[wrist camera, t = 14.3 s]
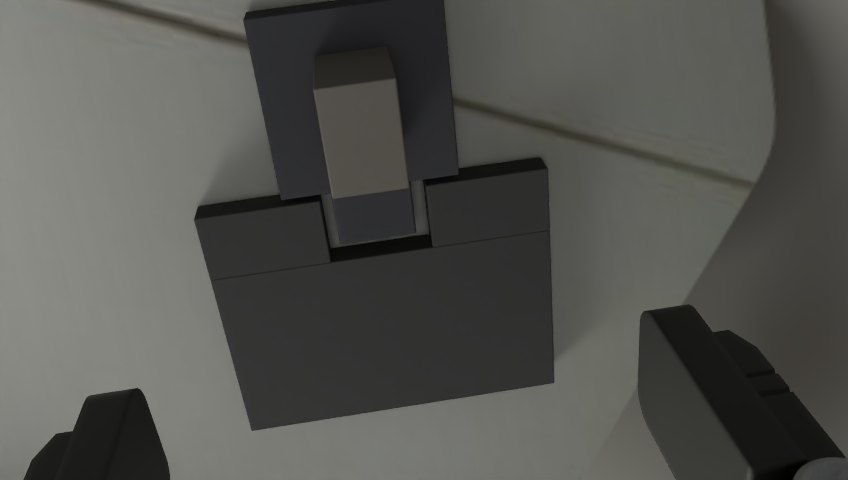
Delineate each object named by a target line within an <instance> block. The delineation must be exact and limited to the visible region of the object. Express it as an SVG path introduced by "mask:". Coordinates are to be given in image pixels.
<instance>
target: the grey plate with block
mask: <svg viewBox="0 0 848 480" xmlns="http://www.w3.org/2000/svg"><path fill="white" fill-rule="evenodd" d="M244 26H245V30H246V35H247V40H248V45H249V49H250V54H251V59H252V63H253V68H254V73H255V78H256V82H257V87H258V92H259V97H260V101H261V106H262V111H263V116H264V120H265V125H266V130H267V134H268V139H269V144H270V149H271V153H272V158H273V163H274V168H275V172H276V177H277V182H278V187H279V191H280V196H281V200H285V199H292V198H299V197H306V196H313V195H320V194H327V193H331V195H332V200H333V206H334V212H335V217H336V223H337V229H338V234H339V240H340V243H341V244H347V243H354V242H361V241H367V240H374V239H381V238H388V237H394V236H401V235H408V234H415V233H416V226H415V218H414V209H413V201H412V193H411V185H410V181H417V180H424V179H431V178H438V177H445V176H452V175H458V174H459V168H458V157H457V146H456V135H455V124H454V113H453V102H452V90H451V79H450V68H449V57H448V46H447V35H446V24H445V12H444V1H443V0H336V1H328V2H321V3H313V4H306V5H298V6H290V7H283V8H275V9H267V10H260V11H252V12H246V14H245V17H244Z"/></svg>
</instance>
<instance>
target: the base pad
mask: <svg viewBox="0 0 848 480" xmlns="http://www.w3.org/2000/svg"><path fill="white" fill-rule="evenodd" d="M423 182H424V191H425V200H426V208H427V217H428V226H429V234H430V235H424V236H417V237H410V238H404V239H397V240H390V241H383V242H376V243H370V244H363V245H356V246H349V247H342V248H336V249H330V243H329V238H328V233H327V227H326V222H325V216H324V211H323V205H322V200H321V194H320V195H313V196H306V197H299V198H292V199H285V200H281V196H280V195H276V196H269V197H262V198H255V199H248V200H241V201H234V202H227V203H220V204H213V205H206V206H199V207H198V208H197V212H196V215H195V219H194V221H195V225H196V228H197V232H198V236H199V239H200V243H201V247H202V250H203V254H204V258H205V261H206V265H207V269H208V272H209V276H210V279H211V283H212V287H213V291H214V294H215V298H216V302H217V305H218V309H219V312H220V316H221V320H222V323H223V327H224V331H225V334H226V338H227V342H228V345H229V349H230V353H231V356H232V360H233V364H234V367H235V371H236V375H237V378H238V382H239V386H240V389H241V393H242V397H243V400H244V404H245V408H246V411H247V415H248V419H249V422H250V426H251V430H252V431H254V430H260V429H267V428H273V427H279V426H286V425H292V424H298V423H304V422H311V421H317V420H323V419H330V418H336V417H342V416H349V415H355V414H361V413H368V412H374V411H380V410H387V409H393V408H399V407H405V406H412V405H418V404H424V403H431V402H437V401H443V400H450V399H456V398H462V397H469V396H475V395H481V394H488V393H494V392H500V391H506V390H513V389H519V388H525V387H532V386H538V385H544V384H551V383H554V356H553V323H552V290H551V258H550V230H549V229H550V224H549V191H548V168H547V167H546V165H545V164H544V162H543V160H542V159H541V158H534V159H527V160H520V161H513V162H506V163H499V164H492V165H485V166H478V167H471V168H464V169H459V174H458V175H452V176H445V177H438V178H431V179H424V180H423Z"/></svg>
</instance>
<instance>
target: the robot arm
mask: <svg viewBox="0 0 848 480" xmlns="http://www.w3.org/2000/svg"><path fill="white" fill-rule="evenodd" d="M638 395H639V401H640V405H641V410H642V414H643V417H644V419H645V422H646V424H647V426H648V428H649V430H650V432H651V434H652V436H653V437H654V439H655V441H656V443H657V445H658V447H659V449H660V451H661V452H662V454H663V456H664V458H665V460H666V462H667V464H668V466H669V468H670V469H671V471H672V473H673V475H674V477H675V479H676V480H848V458H846V457H845V456H844V455H843V453H842V452H841V451H840V450H839V448H838V447H837V446H836V445H835V443H834V442H833V441H832V440H831V438H830V437H829V436H828V435H827V433H826V432H825V431H824V430H823V428H822V427H820V425H819V424H818V422H817V421H816V420H815V419H814V417H813V416H812V415H811V414H810V412H809V411H808V410H807V409H806V407H805V406H804V405H803V404H802V403H801V402H800V400H799V399H798V398H797V396H796V395H795V394H794V393H793V392H790V390H789V386H788V385H787V384H786V383H785V382H784V380H783V379H782V378H781V377H780V375H779V374H775V371H774V368H773V367H772V365H771V364H770V363H769V362H768V361H767V359H766V358H765V357H764V356H763V354H762V353H761V352H760V351H759V349H758V348H757V347H756V346H754V345H752V344H751V343H749V342H747V341H746V340H744V339H743V338H741V337H739V336H738V335H736V334H734V333H733V332H731V331H729V330H725V331H719V332H712V331H711V329H710V328H709V327H708V325H707V324H706V323H705V321H704V320H703V319H702V317H701V316H700V315H699V313H698V312H697V311H696V309H695V308H694V307H693V306H691V305H689V304H688V305H681V306H675V307H668V308H662V309H655V310H649V311H644V312H643V313H642V315H641V319H640V335H639V364H638ZM23 480H170V473H169V466H168V462H167V459H166V456H165V453H164V450H163V447H162V444H161V441H160V438H159V436H158V433H157V430H156V427H155V424H154V421H153V418H152V415H151V413H150V410H149V407H148V404H147V401H146V399H145V396H144V394H143V392H142V391H141V390H140V389H138V388H135V389H129V390H122V391H116V392H109V393H103V394H96V395H90V396H88V397H87V398H86V400H85V402H84V404H83V406H82V409H81V412H80V414H79V417H78V419H77V422H76V425H75V427H74V430H73V431H71V432H64V433H58V434H55V436H54V437H53V438H52V439H51V440H50V441H49V442H48V443H47V444H46V445H45V446H44V448H43V449H42V450H41V451H40V452H39V453H38V454H37V455H36V456H35V457H34V458H33V459H32V461H31V463H30V466H29V468H28V470H27V473H26V475H25V477H24V479H23Z"/></svg>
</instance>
